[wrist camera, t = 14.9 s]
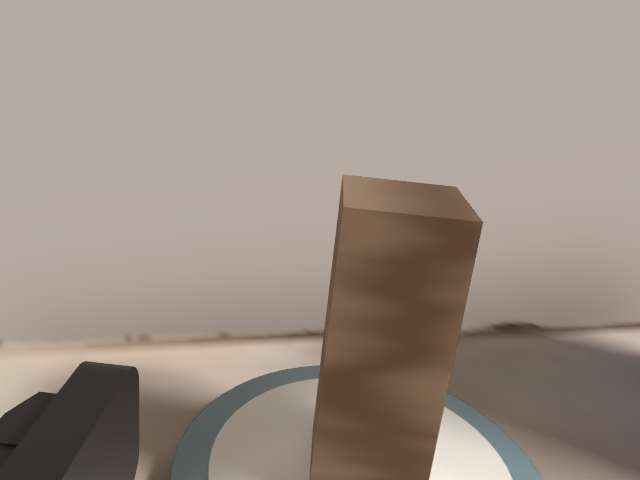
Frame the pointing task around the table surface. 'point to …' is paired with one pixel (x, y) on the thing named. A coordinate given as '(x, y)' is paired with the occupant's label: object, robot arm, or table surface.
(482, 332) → the table surface
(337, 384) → the walnut block
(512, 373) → the table surface
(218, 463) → the teal dish
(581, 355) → the table surface
